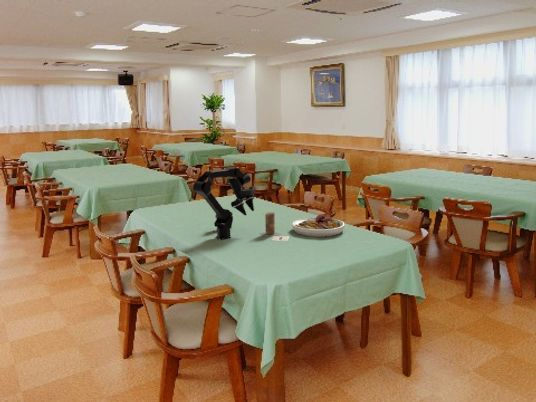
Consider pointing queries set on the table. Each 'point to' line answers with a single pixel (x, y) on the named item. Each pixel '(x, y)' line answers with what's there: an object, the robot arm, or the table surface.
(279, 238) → the tile
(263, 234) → the rest mat
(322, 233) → the bowl
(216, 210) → the robot arm
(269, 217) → the walnut block
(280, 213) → the table surface
